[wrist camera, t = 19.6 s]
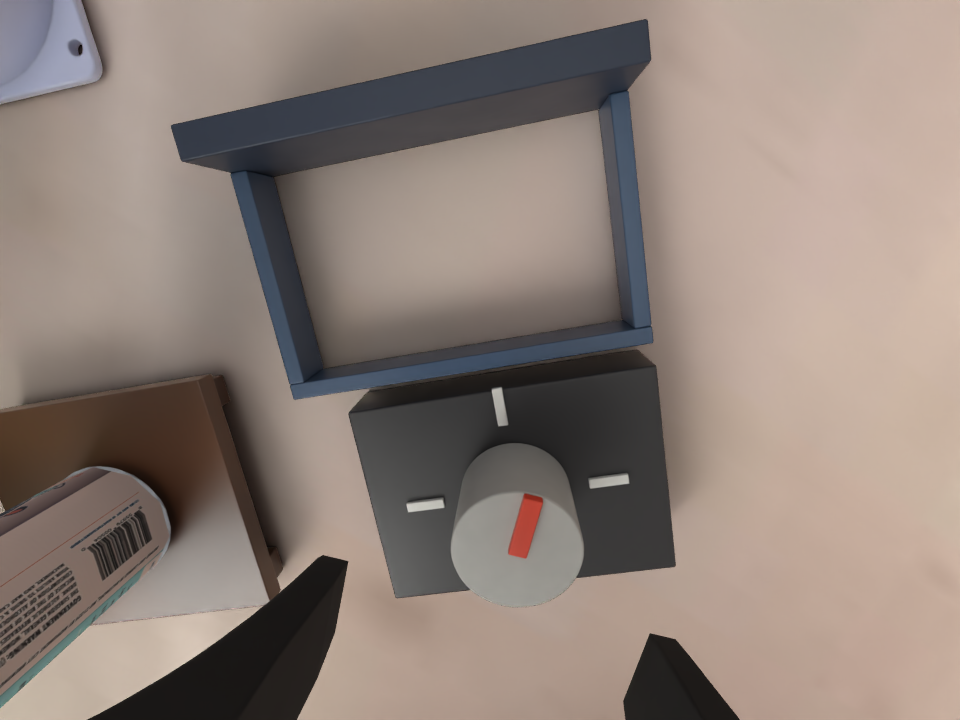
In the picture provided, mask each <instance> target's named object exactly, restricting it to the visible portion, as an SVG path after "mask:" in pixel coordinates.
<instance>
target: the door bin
mask: <svg viewBox="0 0 960 720" xmlns="http://www.w3.org/2000/svg"><path fill="white" fill-rule="evenodd" d="M650 61H651V52H650V40H649V29H648V21H647V19H644V20H639V21H635V22H630V23H626V24H622V25H617V26H613V27H608V28H604V29H599V30H595V31H590V32H586V33H581V34H577V35H572V36H568V37H563V38H559V39H554V40H550V41H545V42H541V43H536V44H532V45H527V46H523V47H518V48H514V49H509V50H505V51H500V52H496V53H492V54H487V55H483V56H478V57H474V58H469V59H465V60H460V61H456V62H451V63H447V64H442V65H438V66H433V67H429V68H424V69H420V70H415V71H411V72H406V73H402V74H397V75H393V76H388V77H384V78H379V79H375V80H370V81H366V82H362V83H357V84H353V85H348V86H344V87H339V88H335V89H330V90H326V91H321V92H317V93H312V94H308V95H303V96H299V97H294V98H290V99H285V100H281V101H276V102H272V103H267V104H263V105H258V106H254V107H249V108H245V109H240V110H236V111H232V112H227V113H223V114H218V115H214V116H209V117H205V118H200V119H196V120H191V121H187V122H182V123H178V124H173V125H171V129H172V132H173V135H174V139H175V142H176V145H177V149H178V152H179V155H180V159H181V161H182V162H186V163H191V164H195V165H199V166H204V167H208V168H213V169H217V170H221V171H226V172H230V173H231V178H232V182H233V185H234V189H235V192H236V196H237V199H238V203H239V206H240V210H241V214H242V217H243V221H244V224H245V228H246V231H247V235H248V238H249V242H250V245H251V249H252V253H253V256H254V260H255V263H256V267H257V270H258V274H259V277H260V281H261V284H262V288H263V292H264V295H265V299H266V302H267V306H268V309H269V313H270V316H271V320H272V323H273V327H274V330H275V334H276V338H277V341H278V345H279V348H280V352H281V355H282V359H283V362H284V366H285V369H286V373H287V377H288V380H289V383H290V384H291V385H290V388H291V391H292V395H293V398H294V399H295V400H296V399H302V398H309V397H315V396H321V395H328V394H334V393H340V392H347V391H353V390H359V389H366V388H372V387H378V386H385V385H391V384H397V383H404V382H410V381H416V380H423V379H429V378H435V377H441V376H448V375H454V374H460V373H467V372H473V371H479V370H486V369H492V368H498V367H505V366H511V365H517V364H524V363H530V362H536V361H543V360H549V359H555V358H562V357H568V356H574V355H581V354H587V353H593V352H600V351H606V350H612V349H618V348H625V347H631V346H637V345H644V344H650V343H653V333H652V327H651V314H650V304H649V294H648V284H647V273H646V263H645V253H644V243H643V233H642V222H641V212H640V202H639V192H638V182H637V171H636V161H635V151H634V141H633V131H632V120H631V110H630V100H629V92H628V91H627V90H628V89H629V87H630V86H631V85H632V84H633V82H634V81H635V80H636V79H637V77H638V76H639V75H640V74H641V72H642V71H643V70H644V69H645V67H646V66H647V65H648V64H649V63H650ZM597 109H599V119H600V128H601V137H602V146H603V155H604V163H605V172H606V181H607V190H608V199H609V208H610V217H611V226H612V235H613V244H614V253H615V262H616V270H617V279H618V288H619V297H620V306H621V315H622V319H623V320H618V321H612V322H606V323H600V324H594V325H588V326H582V327H576V328H570V329H563V330H557V331H551V332H545V333H539V334H533V335H527V336H521V337H515V338H509V339H502V340H496V341H490V342H484V343H478V344H472V345H466V346H460V347H454V348H447V349H441V350H435V351H429V352H423V353H417V354H411V355H405V356H399V357H393V358H386V359H380V360H374V361H368V362H362V363H356V364H350V365H344V366H338V367H331V368H325V369H323V368H324V367H323V363H322V360H321V356H320V352H319V348H318V344H317V341H316V337H315V333H314V329H313V325H312V322H311V318H310V314H309V310H308V306H307V303H306V299H305V295H304V291H303V287H302V284H301V280H300V276H299V272H298V268H297V265H296V261H295V257H294V253H293V249H292V246H291V242H290V238H289V234H288V230H287V227H286V223H285V219H284V215H283V211H282V208H281V204H280V200H279V196H278V192H277V189H276V185H275V181H274V178H273V176H278V175H283V174H288V173H293V172H298V171H302V170H307V169H312V168H317V167H322V166H327V165H331V164H336V163H341V162H346V161H351V160H356V159H360V158H365V157H370V156H375V155H380V154H384V153H389V152H394V151H399V150H404V149H409V148H413V147H418V146H423V145H428V144H433V143H438V142H442V141H447V140H452V139H457V138H462V137H467V136H471V135H476V134H481V133H486V132H491V131H496V130H500V129H505V128H510V127H515V126H520V125H525V124H529V123H534V122H539V121H544V120H549V119H554V118H558V117H563V116H568V115H573V114H578V113H583V112H587V111H592V110H597Z"/></svg>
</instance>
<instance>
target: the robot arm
mask: <svg viewBox="0 0 960 720" xmlns="http://www.w3.org/2000/svg"><path fill="white" fill-rule="evenodd" d="M81 44H82V46H83V52H82V54H81V55H80V56H79V54H78V48H79V45H81ZM102 71H103V68H102V63H101V60H100V57H99V54H98V50H97V47H96V44H95V41H94V38H93V35H92V32H91V29H90V26H89V23H88V20H87V17H86V13H85V10H84V7H83V4H82V1H81V0H0V104H4V103H8V102H12V101H17V100H21V99H25V98H29V97H34V96H38V95H42V94H46V93H50V92H55V91H59V90H63V89H67V88H72V87H76V86H80V85H84V84H89V83H93V82H95V81H97V80H99V79H100V77H101V76H102ZM347 566H348V561H345V560H341V559H337V558H333V557H328V556H324V555H322V556H321V557H319V558H317V559H316V560H315V561H314V562H313V563H312V564H311V565H310V566H309V567H308V568H307V569H306V570H305V571H304V572H302V573H301V574H300V575H299V576H298V577H297V578H296V579H295V580H294V581H293V582H291V583H290V584H289V585H288V586H287V587H286V588H285V589H283V590H282V591H281V592H280V593H279V594H278V595H276V596H275V597H274V598H273V599H272V600H270V601H269V602H268V603H267V604H265V605H264V606H263V607H262V608H261V609H259V610H258V611H257V612H256V613H254V614H253V615H252V616H251V617H249V618H248V619H247V620H246V621H244V622H243V623H241V624H240V625H239V626H237V627H236V628H235V629H233V630H232V631H231V632H229V633H228V634H227V635H225V636H224V637H223V638H221V639H220V640H219V641H217V642H216V643H214V644H213V645H212V646H210V647H209V648H207V649H206V650H204V651H203V652H201V653H200V654H199V655H197V656H196V657H194V658H193V659H191V660H190V661H188V662H187V663H185V664H183V665H182V666H180V667H179V668H177V669H176V670H174V671H172V672H171V673H169V674H168V675H166V676H164V677H163V678H161V679H159V680H158V681H156V682H154V683H153V684H151V685H149V686H148V687H146V688H144V689H142V690H141V691H139V692H137V693H136V694H134V695H132V696H130V697H129V698H127V699H125V700H123V701H122V702H120V703H118V704H116V705H114V706H113V707H111V708H109V709H107V710H105V711H103V712H101V713H100V714H98V715H96V716H94V717H92V718H90V719H88V720H297V718H298V716H299V714H300V712H301V710H302V708H303V706H304V704H305V702H306V700H307V698H308V696H309V694H310V692H311V690H312V688H313V686H314V684H315V682H316V680H317V678H318V675H319V672H320V670H321V667H322V665H323V662H324V660H325V657H326V654H327V652H328V649H329V647H330V644H331V641H332V639H333V636H334V633H335V629H336V624H337V619H338V613H339V608H340V603H341V598H342V592H343V587H344V582H345V576H346V571H347ZM623 702H624V711H625V720H740V719H739V718H738V717H737V715H736V714H735V713H734V712H733V710H732V709H731V708H730V707H729V705H728V704H727V703H726V702H725V700H724V699H723V698H722V697H721V695H720V694H719V693H718V692H717V690H716V689H715V688H714V687H713V685H712V684H711V683H710V681H709V680H708V679H707V678H706V676H705V675H704V674H703V673H702V671H701V670H700V669H699V668H698V666H697V665H696V664H695V662H694V661H693V660H692V659H691V657H690V656H689V655H688V654H687V652H686V651H685V650H684V649H683V648H682V646H681V645H680V644H679V643H678V642H677V641H676V639H672V638H667V637H663V636H659V635H655V634H651V633H650V634H649V637H648V639H647V642H646V645H645V647H644V650H643V652H642V655H641V657H640V660H639V662H638V665H637V668H636V670H635V673H634V675H633V678H632V680H631V683H630V685H629V688H628V690H627V693H626V696H625V698H624V701H623Z"/></svg>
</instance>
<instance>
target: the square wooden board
mask: <svg viewBox="0 0 960 720" xmlns="http://www.w3.org/2000/svg"><path fill="white" fill-rule="evenodd" d="M228 402H230V397H229V394H228V391H227V388H226V385H225V381H224V378H223V376H222V375H217V376H212V374H207V375H201V376H195V377H189V378H183V379H177V380H171V381H165V382H159V383H153V384H147V385H141V386H135V387H129V388H123V389H117V390H111V391H105V392H99V393H93V394H87V395H81V396H75V397H69V398H63V399H57V400H51V401H45V402H39V403H33V404H27V405H21V406H15V407H9V408H3V409H0V500H1V503H2V505H3V507H4V509H5V511H7V510H9V509H10V508H12V507H14V506H16V505H18V504H20V503H22V502H23V501H25V500H27V499H29V498H31V497H33V496H34V495H36V494H38V493H40V492H42V491H44V490H45V489H47V488H49V487H51V486H53V485H55V484H57V483H58V482H60V481H62V480H64V479H65V478H66V477H68V476H69V475H71V474H72V473H74V472H76V471H79V470H82V469H84V468H87V467H96V466H102V467H111V468H117V469H120V470H122V471H125V472H127V473H130V474H132V475H134V476H136V477H137V478H139V479H140V480H142V481H143V482H144V483H146V484H147V485H148V486H149V487H150V488H151V489H152V490H153V491H154V493H155V494H156V495H157V496H158V497H159V498H160V499H161V501H162V502H163V504H164V506H165V508H166V510H167V514H168V518H169V522H170V526H171V534H170V542H169V545H168V548H167V551H166V552H165V554H164V555H163V557H162V558H161V559H160V561H159V562H158V563H157V564H156V565H155V566H154V567H153V568H151V569H150V570H149V571H148V572H147V573H146V574H145V575H144V576H143V577H142V578H141V579H140V580H138V581H137V582H136V583H135V584H134V585H133V586H132V587H131V588H130V589H129V590H128V591H127V592H125V593H124V594H123V595H122V596H121V597H120V598H119V599H118V600H117V601H116V602H115V603H114V604H112V605H111V606H110V607H109V608H108V609H107V610H106V611H105V612H104V613H103V614H102V615H101V616H99V617H98V618H97V619H96V620H95V621H94V622H93V623H92V624H91V625H98V624H107V623H116V622H125V621H133V620H142V619H151V618H159V617H168V616H177V615H186V614H194V613H203V612H212V611H220V610H229V609H238V608H247V607H255V606H264V605H265V604H267V603H268V602H269V601H270V600H272V599H273V598H274V597H275V596H276V595H278V594H279V592H280V590H281V589H280V586H279V583H278V580H277V577H278V576H279V574H280V573H281V571H282V570H283V566H282V563H281V559H280V556H279V553H278V550H277V547H270V548H267V546H266V543H265V539H264V536H263V533H262V530H261V527H260V524H259V521H258V518H257V514H256V511H255V508H254V505H253V502H252V499H251V496H250V493H249V489H248V486H247V483H246V480H245V477H244V474H243V471H242V467H241V464H240V461H239V458H238V455H237V452H236V449H235V446H234V442H233V439H232V436H231V433H230V430H229V427H228V424H227V421H226V417H225V414H224V411H223V408H222V406H223V405H225V404H227V403H228Z"/></svg>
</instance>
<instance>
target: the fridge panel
mask: <svg viewBox="0 0 960 720" xmlns="http://www.w3.org/2000/svg"><path fill="white" fill-rule="evenodd" d="M349 418H350V422H351V426H352V430H353V434H354V438H355V442H356V445H357V449H358V453H359V457H360V461H361V465H362V469H363V473H364V477H365V481H366V484H367V488H368V492H369V496H370V500H371V504H372V508H373V512H374V516H375V519H376V523H377V527H378V531H379V535H380V539H381V543H382V547H383V551H384V555H385V558H386V562H387V566H388V570H389V574H390V578H391V582H392V586H393V590H394V594H395V597H396V598H404V597H413V596H422V595H431V594H439V593H448V592H457V591H466V590H470V589H469V588H468V587H467V586H466V585H465V583H464V582H463V581H462V580H461V578H460V577H459V575H458V573H457V571H456V569H455V567H454V564H453V561H452V557H451V538H452V533H453V527H454V522H455V517H456V512H457V507H458V501H459V496H460V491H461V486H462V481H463V478H464V475H465V473H466V471H467V469H468V467H469V466H470V464H471V463H472V462H473V461H474V460H475V459H476V458H477V457H478V456H479V455H480V454H482V453H483V452H485V451H486V450H488V449H490V448H493V447H495V446H498V445H502V444H508V443H522V444H528V445H532V446H535V447H537V448H540V449H542V450H544V451H545V452H547V453H549V454H550V455H551V456H553V457H554V458H555V459H556V460H557V461H558V462H559V463H560V465H561V466H562V467H563V469H564V471H565V473H566V475H567V477H568V480H569V484H570V488H571V492H572V496H573V500H574V504H575V509H576V513H577V517H578V521H579V525H580V529H581V533H582V538H583V542H584V557H583V562H582V566H581V568H580V571H579V573H578V575H577V577H576V578H581V577H590V576H599V575H607V574H616V573H625V572H634V571H643V570H652V569H660V568H669V567H675V566H676V562H675V552H674V542H673V531H672V521H671V511H670V501H669V490H668V480H667V470H666V460H665V449H664V439H663V429H662V419H661V409H660V398H659V388H658V378H657V368H656V365H654V364H653V363H652V362H651V361H650V360H649V359H648V358H646V357H645V356H644V355H643V354H642V353H641V352H640V351H639V350H632V351H626V352H619V353H613V354H606V355H600V356H594V357H587V358H581V359H575V360H568V361H562V362H556V363H549V364H543V365H537V366H530V367H524V368H518V369H511V370H505V371H498V372H492V373H486V374H479V375H473V376H467V377H460V378H454V379H448V380H441V381H435V382H429V383H422V384H416V385H409V386H403V387H397V388H390V389H384V390H378V391H371V392H367V393H366V394H365V395H364V397H363V398H362V399H361V400H360V401H359V402H358V403H357V404H356V405H355V406H354V407H353V409H352V410H351V411H350V412H349Z"/></svg>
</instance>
